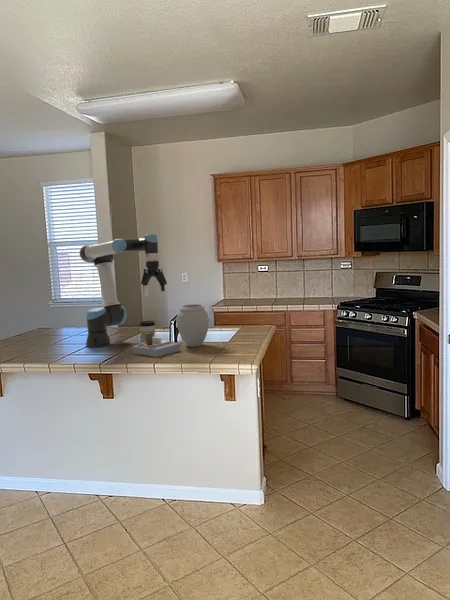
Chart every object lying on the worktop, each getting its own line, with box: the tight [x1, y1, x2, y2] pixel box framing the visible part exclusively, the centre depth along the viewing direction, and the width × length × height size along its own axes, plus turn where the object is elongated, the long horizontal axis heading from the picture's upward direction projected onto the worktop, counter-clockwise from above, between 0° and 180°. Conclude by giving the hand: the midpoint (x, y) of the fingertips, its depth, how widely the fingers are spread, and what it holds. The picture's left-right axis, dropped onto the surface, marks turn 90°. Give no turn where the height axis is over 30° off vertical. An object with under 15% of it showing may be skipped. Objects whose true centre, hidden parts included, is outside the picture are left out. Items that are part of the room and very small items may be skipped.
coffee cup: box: [138, 320, 156, 343], centre depth 281 cm, size 10×10×15 cm
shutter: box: [152, 336, 169, 344], centre depth 269 cm, size 8×8×4 cm
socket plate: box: [132, 340, 181, 358], centre depth 264 cm, size 20×18×5 cm
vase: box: [176, 303, 210, 348], centre depth 275 cm, size 20×20×24 cm
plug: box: [142, 333, 156, 347], centre depth 263 cm, size 6×6×11 cm
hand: (154, 296), depth 275 cm, fingers open, 13 cm apart
